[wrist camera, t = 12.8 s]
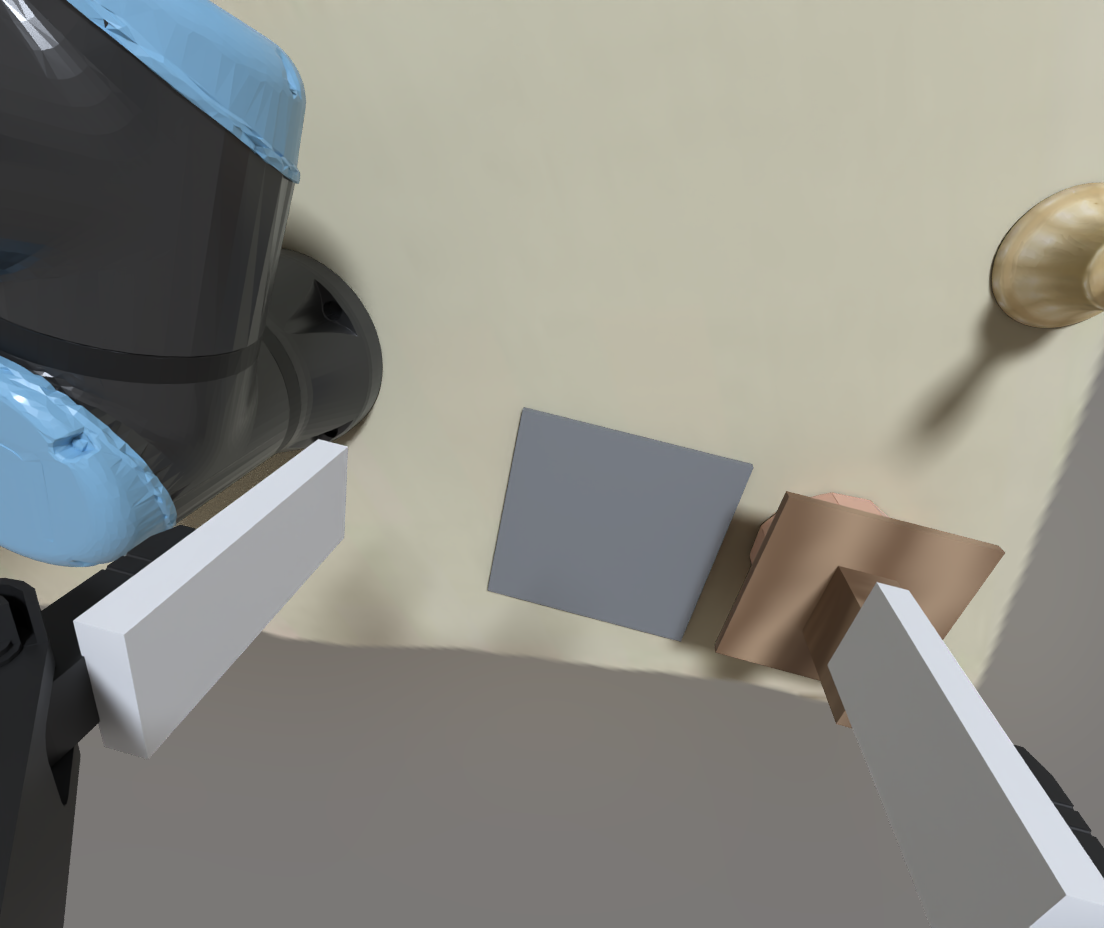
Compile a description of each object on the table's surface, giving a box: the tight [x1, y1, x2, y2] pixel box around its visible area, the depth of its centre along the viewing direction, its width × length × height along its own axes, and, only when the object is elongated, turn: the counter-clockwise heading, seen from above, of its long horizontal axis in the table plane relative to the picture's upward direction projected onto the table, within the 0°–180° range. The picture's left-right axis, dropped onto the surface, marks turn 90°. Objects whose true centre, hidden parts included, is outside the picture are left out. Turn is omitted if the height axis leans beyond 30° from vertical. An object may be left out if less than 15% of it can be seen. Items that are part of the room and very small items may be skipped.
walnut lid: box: [715, 491, 1005, 728], centre depth 36 cm, size 14×14×9 cm
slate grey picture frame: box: [488, 407, 753, 642], centre depth 47 cm, size 18×18×1 cm
